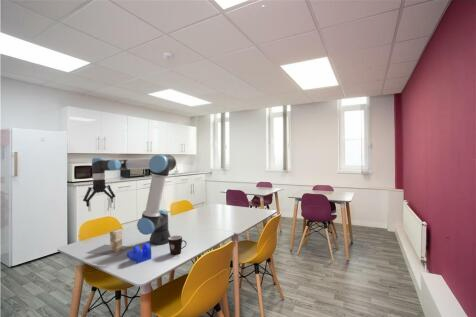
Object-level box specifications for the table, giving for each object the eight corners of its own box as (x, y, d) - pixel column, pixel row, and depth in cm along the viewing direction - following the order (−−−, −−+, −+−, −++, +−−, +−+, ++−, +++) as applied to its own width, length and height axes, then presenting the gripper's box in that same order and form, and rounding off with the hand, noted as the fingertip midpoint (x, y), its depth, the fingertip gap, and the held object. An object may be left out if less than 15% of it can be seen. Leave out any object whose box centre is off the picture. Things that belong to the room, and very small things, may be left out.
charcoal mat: (133, 247, 163) (133, 246, 163) (116, 256, 148) (116, 255, 148) (104, 245, 169) (104, 244, 169) (85, 254, 154) (85, 253, 154)
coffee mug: (166, 253, 150) (165, 237, 150) (178, 249, 156) (177, 234, 157) (175, 258, 142) (175, 242, 142) (187, 254, 148) (187, 238, 148)
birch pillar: (122, 249, 159) (121, 229, 159) (116, 251, 154) (116, 232, 154) (116, 248, 160) (115, 229, 160) (110, 251, 155) (109, 231, 155)
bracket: (151, 259, 143) (150, 244, 143) (137, 263, 137) (137, 248, 137) (137, 252, 155) (137, 238, 155) (124, 256, 149) (124, 241, 149)
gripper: (115, 177, 180) (116, 205, 180) (76, 181, 161) (78, 212, 161) (119, 177, 175) (120, 206, 175) (80, 181, 156) (81, 213, 156)
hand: (100, 209), depth 168 cm, fingers open, 13 cm apart
